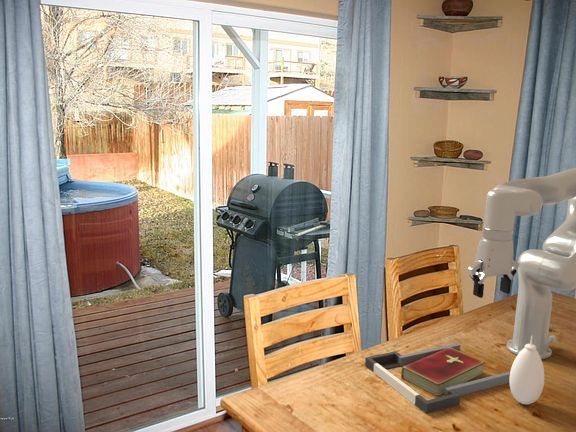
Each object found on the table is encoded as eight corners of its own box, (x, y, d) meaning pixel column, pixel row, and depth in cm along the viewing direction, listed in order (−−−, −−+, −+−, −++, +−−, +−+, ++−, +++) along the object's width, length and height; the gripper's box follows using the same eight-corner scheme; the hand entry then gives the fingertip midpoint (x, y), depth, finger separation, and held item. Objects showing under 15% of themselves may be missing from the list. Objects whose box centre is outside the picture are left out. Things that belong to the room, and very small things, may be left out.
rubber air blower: (512, 391, 139) (520, 326, 136) (544, 401, 134) (553, 335, 131) (502, 403, 133) (510, 335, 130) (536, 414, 128) (544, 345, 125)
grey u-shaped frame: (450, 347, 164) (450, 339, 164) (519, 387, 141) (520, 378, 141) (365, 365, 151) (365, 357, 151) (426, 413, 128) (426, 404, 127)
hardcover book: (400, 379, 145) (401, 365, 144) (447, 358, 158) (448, 345, 157) (437, 398, 136) (438, 383, 135) (483, 375, 148) (485, 361, 148)
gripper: (510, 229, 152) (504, 286, 156) (463, 234, 146) (457, 293, 149) (532, 235, 146) (525, 295, 149) (482, 240, 139) (476, 302, 142)
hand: (491, 294), depth 149 cm, fingers open, 9 cm apart
